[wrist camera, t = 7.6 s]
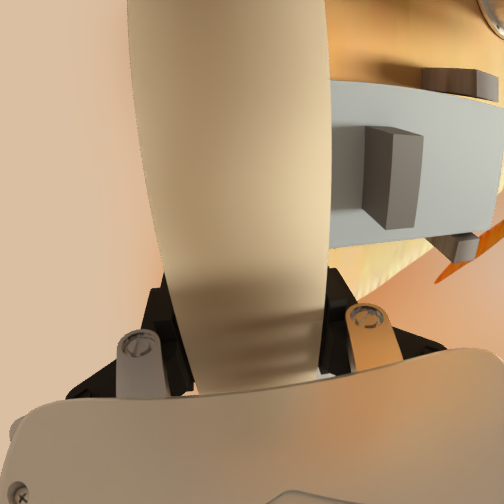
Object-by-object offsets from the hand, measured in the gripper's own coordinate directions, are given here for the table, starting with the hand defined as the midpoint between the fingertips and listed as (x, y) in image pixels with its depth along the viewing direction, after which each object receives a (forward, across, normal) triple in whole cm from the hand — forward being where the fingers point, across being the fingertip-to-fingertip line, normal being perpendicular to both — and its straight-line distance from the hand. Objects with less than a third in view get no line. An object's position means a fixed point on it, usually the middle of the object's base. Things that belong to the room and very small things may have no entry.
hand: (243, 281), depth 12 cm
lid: (+17, -20, 0) cm, 26 cm away
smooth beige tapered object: (0, 0, 0) cm, 0 cm away
